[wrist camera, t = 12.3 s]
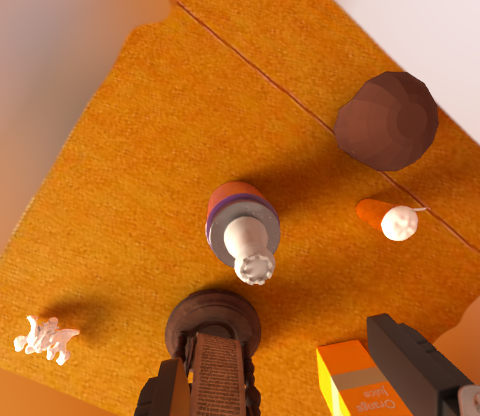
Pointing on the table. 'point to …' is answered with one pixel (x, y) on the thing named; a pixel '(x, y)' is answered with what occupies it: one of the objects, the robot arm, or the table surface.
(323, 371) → the orange juice
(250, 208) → the jar lid
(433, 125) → the muffin
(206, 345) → the scroll
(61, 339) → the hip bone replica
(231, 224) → the rook chess piece
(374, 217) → the milkshake
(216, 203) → the jar
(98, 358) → the table surface
